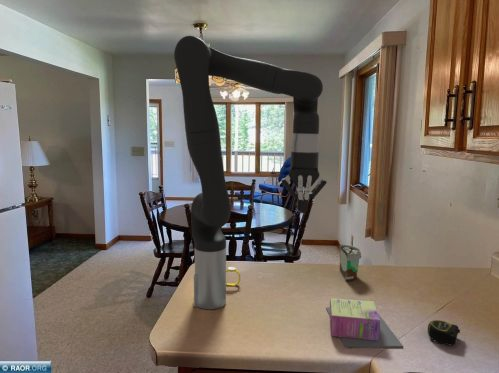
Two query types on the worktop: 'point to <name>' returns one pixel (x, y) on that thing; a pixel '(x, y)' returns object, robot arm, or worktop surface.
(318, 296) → the worktop surface
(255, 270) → the worktop surface
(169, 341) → the worktop surface
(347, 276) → the food container
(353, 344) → the mat
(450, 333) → the tape measure
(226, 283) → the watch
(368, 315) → the box
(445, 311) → the worktop surface
